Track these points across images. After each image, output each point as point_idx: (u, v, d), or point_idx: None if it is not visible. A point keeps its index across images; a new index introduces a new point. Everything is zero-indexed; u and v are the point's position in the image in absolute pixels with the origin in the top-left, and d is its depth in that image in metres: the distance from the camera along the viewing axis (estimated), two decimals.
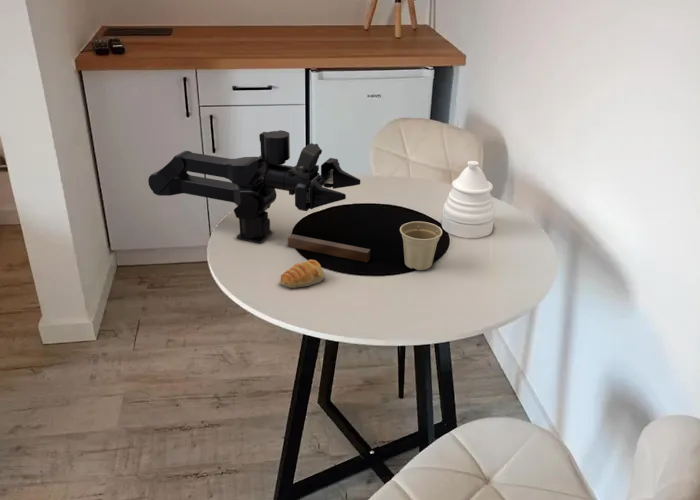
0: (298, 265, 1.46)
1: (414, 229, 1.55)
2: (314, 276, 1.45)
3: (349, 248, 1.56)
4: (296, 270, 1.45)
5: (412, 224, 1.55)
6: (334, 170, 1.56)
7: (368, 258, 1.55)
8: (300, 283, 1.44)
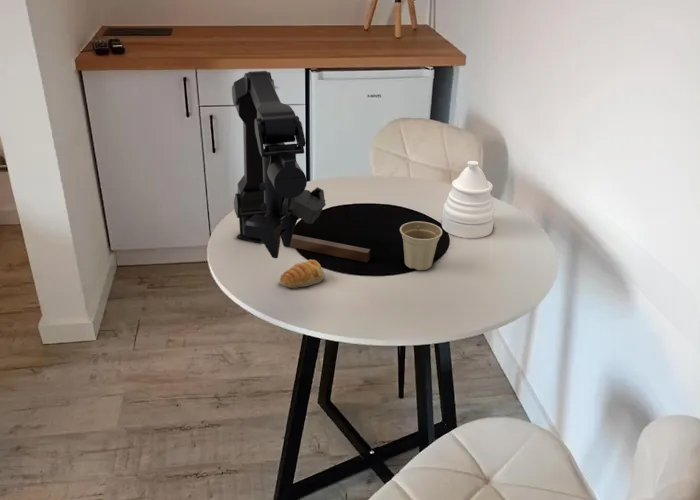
0: (298, 265, 1.46)
1: (414, 229, 1.55)
2: (314, 276, 1.45)
3: (349, 248, 1.56)
4: (296, 270, 1.45)
5: (412, 224, 1.55)
6: (294, 217, 1.32)
7: (368, 258, 1.55)
8: (300, 283, 1.44)
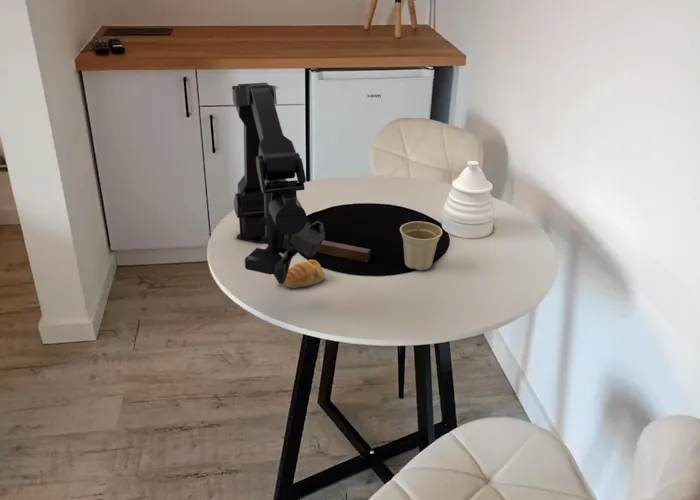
0: (298, 265, 1.46)
1: (414, 229, 1.55)
2: (314, 276, 1.45)
3: (349, 248, 1.56)
4: (296, 270, 1.45)
5: (412, 224, 1.55)
6: (289, 254, 1.33)
7: (368, 258, 1.55)
8: (300, 283, 1.44)
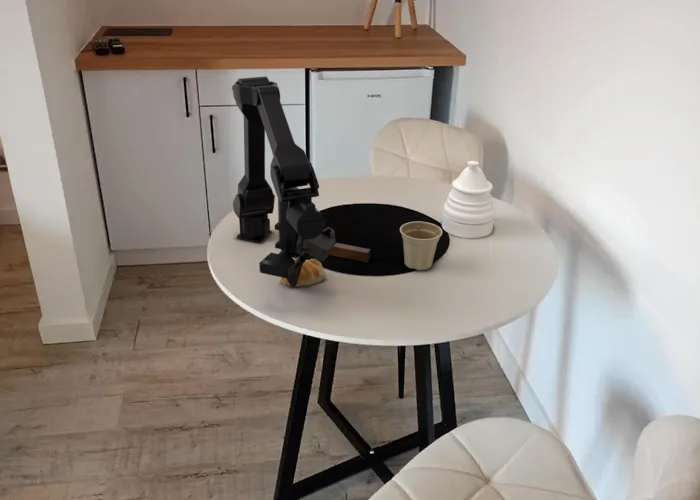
0: None
1: (414, 229, 1.55)
2: (315, 275, 1.45)
3: (349, 248, 1.56)
4: None
5: (412, 224, 1.55)
6: (301, 258, 1.40)
7: (368, 258, 1.55)
8: (301, 282, 1.44)
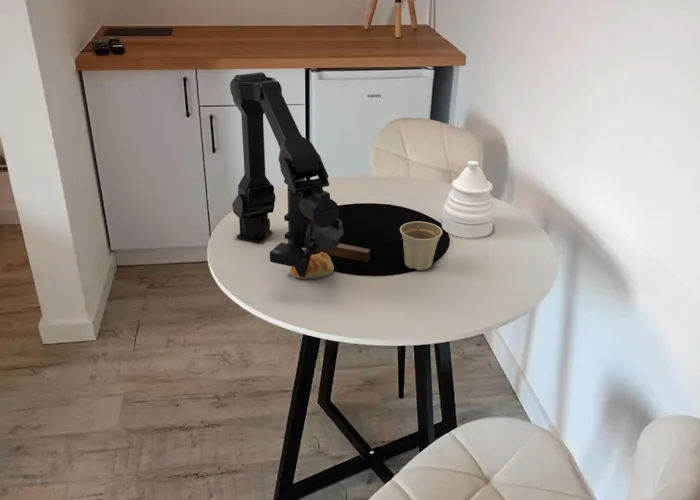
0: None
1: (414, 229, 1.55)
2: (323, 268, 1.48)
3: (349, 248, 1.56)
4: None
5: (412, 224, 1.55)
6: (310, 249, 1.43)
7: (368, 258, 1.55)
8: (309, 274, 1.47)
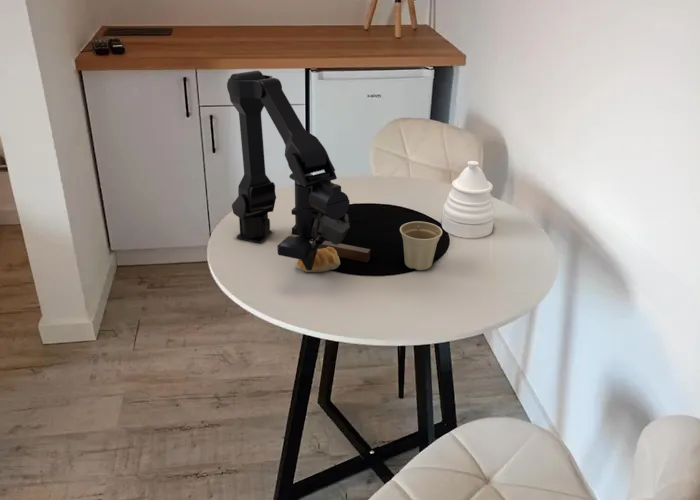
0: None
1: (414, 229, 1.55)
2: (329, 262, 1.50)
3: (349, 248, 1.56)
4: None
5: (412, 224, 1.55)
6: (317, 243, 1.46)
7: (368, 258, 1.55)
8: (315, 268, 1.50)
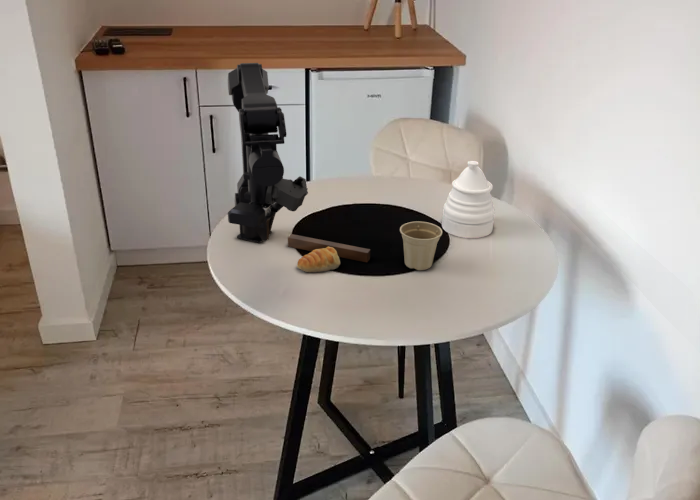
0: (316, 251, 1.52)
1: (414, 229, 1.55)
2: (329, 262, 1.51)
3: (349, 248, 1.56)
4: (312, 255, 1.51)
5: (412, 224, 1.55)
6: (272, 210, 1.35)
7: (368, 258, 1.55)
8: (315, 268, 1.50)
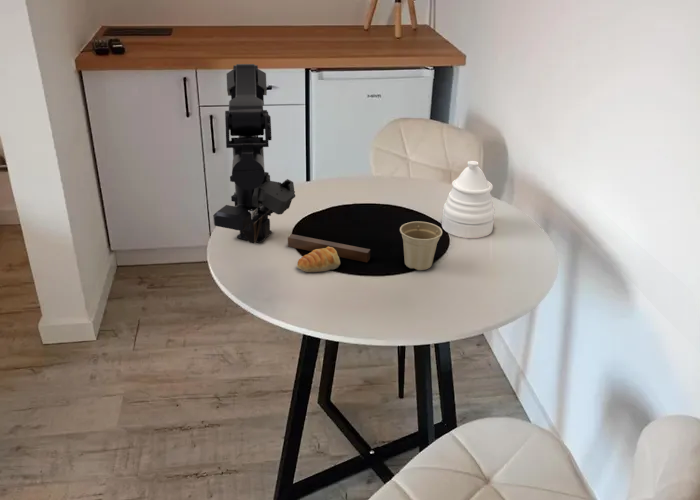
0: (316, 251, 1.52)
1: (414, 229, 1.55)
2: (329, 262, 1.51)
3: (349, 248, 1.56)
4: (312, 255, 1.51)
5: (412, 224, 1.55)
6: (260, 212, 1.34)
7: (368, 258, 1.55)
8: (315, 268, 1.50)
